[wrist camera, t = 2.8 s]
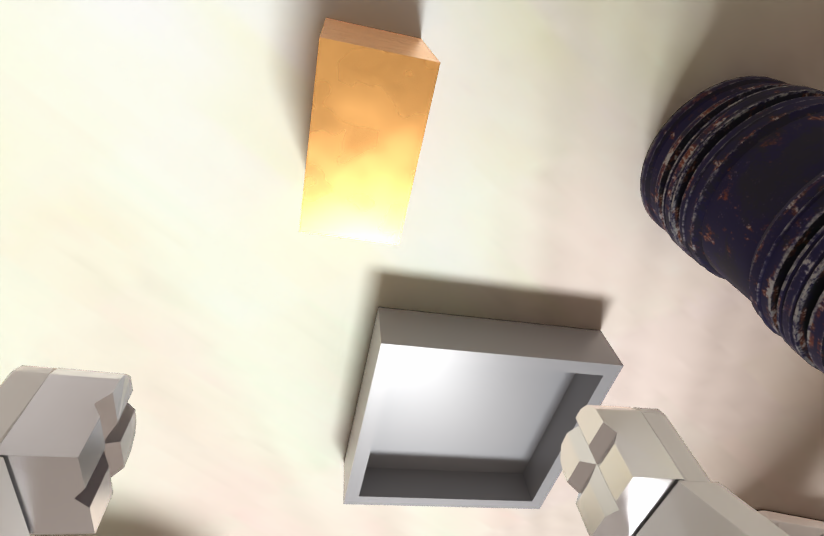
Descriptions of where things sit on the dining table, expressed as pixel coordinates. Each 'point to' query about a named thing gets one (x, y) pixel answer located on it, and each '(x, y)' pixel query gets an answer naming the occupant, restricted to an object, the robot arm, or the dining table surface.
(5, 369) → the dining table surface
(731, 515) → the robot arm
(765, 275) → the black ridged cylinder
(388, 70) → the wooden block
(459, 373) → the grey tray
